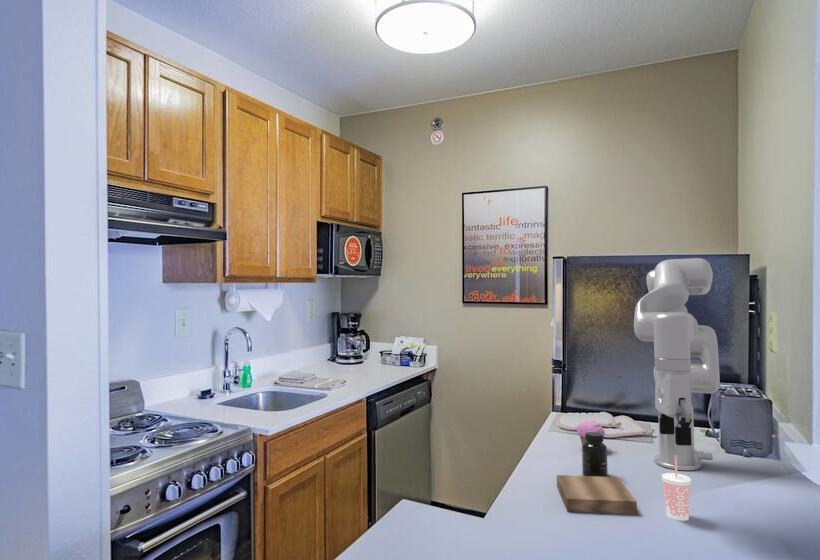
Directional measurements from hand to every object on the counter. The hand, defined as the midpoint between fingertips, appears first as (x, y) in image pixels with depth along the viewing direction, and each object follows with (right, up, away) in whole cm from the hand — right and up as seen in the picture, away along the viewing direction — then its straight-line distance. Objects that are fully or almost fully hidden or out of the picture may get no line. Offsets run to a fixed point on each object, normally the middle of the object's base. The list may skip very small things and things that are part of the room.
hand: (675, 439), depth 116 cm
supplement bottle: (-9, -19, +26) cm, 34 cm away
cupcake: (-2, -20, +49) cm, 53 cm away
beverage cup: (0, -18, 0) cm, 18 cm away
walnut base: (-15, -19, +10) cm, 26 cm away
